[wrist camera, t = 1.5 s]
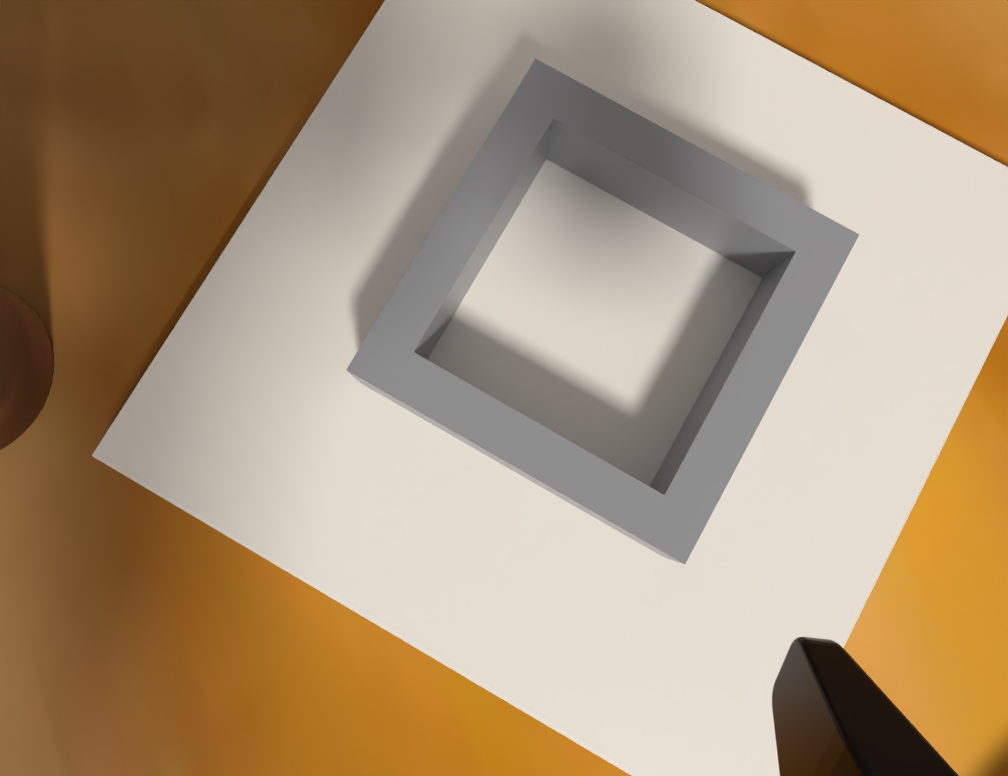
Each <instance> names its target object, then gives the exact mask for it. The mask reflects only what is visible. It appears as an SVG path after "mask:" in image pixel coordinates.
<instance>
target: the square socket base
mask: <svg viewBox="0 0 1008 776" xmlns="http://www.w3.org/2000/svg"><path fill="white" fill-rule="evenodd" d="M1007 315H1008V167H1007V166H1005V165H1003V164H1001V163H999V162H997V161H995V160H993V159H992V158H990V157H988V156H986V155H984V154H982V153H980V152H978V151H977V150H975V149H973V148H971V147H969V146H967V145H965V144H963V143H962V142H960V141H958V140H956V139H954V138H952V137H950V136H948V135H947V134H945V133H943V132H941V131H939V130H937V129H935V128H933V127H932V126H930V125H928V124H926V123H924V122H922V121H920V120H918V119H917V118H915V117H913V116H911V115H909V114H907V113H905V112H903V111H902V110H900V109H898V108H896V107H894V106H892V105H890V104H888V103H887V102H885V101H883V100H881V99H879V98H877V97H875V96H873V95H872V94H870V93H868V92H866V91H864V90H862V89H860V88H858V87H857V86H855V85H853V84H851V83H849V82H847V81H845V80H843V79H842V78H840V77H838V76H836V75H834V74H832V73H830V72H828V71H827V70H825V69H823V68H821V67H819V66H817V65H815V64H813V63H812V62H810V61H808V60H806V59H804V58H802V57H800V56H798V55H796V54H795V53H793V52H791V51H789V50H787V49H785V48H783V47H781V46H780V45H778V44H776V43H774V42H772V41H770V40H768V39H766V38H765V37H763V36H761V35H759V34H757V33H755V32H753V31H751V30H750V29H748V28H746V27H744V26H742V25H740V24H738V23H736V22H735V21H733V20H731V19H729V18H727V17H725V16H723V15H721V14H720V13H718V12H716V11H714V10H712V9H710V8H708V7H706V6H705V5H703V4H701V3H699V2H697V1H695V0H385V1H384V3H383V4H382V6H381V7H380V9H379V10H378V12H377V13H376V15H375V17H374V18H373V20H372V21H371V23H370V24H369V26H368V27H367V29H366V31H365V32H364V34H363V35H362V37H361V38H360V40H359V41H358V43H357V44H356V46H355V48H354V49H353V51H352V52H351V54H350V55H349V57H348V58H347V60H346V62H345V63H344V65H343V66H342V68H341V69H340V71H339V72H338V74H337V76H336V77H335V79H334V80H333V82H332V83H331V85H330V86H329V88H328V89H327V91H326V93H325V94H324V96H323V97H322V99H321V100H320V102H319V103H318V105H317V107H316V108H315V110H314V111H313V113H312V114H311V116H310V117H309V119H308V121H307V122H306V124H305V125H304V127H303V128H302V130H301V131H300V133H299V135H298V136H297V138H296V139H295V141H294V142H293V144H292V145H291V147H290V148H289V150H288V152H287V153H286V155H285V156H284V158H283V159H282V161H281V162H280V164H279V166H278V167H277V169H276V170H275V172H274V173H273V175H272V176H271V178H270V180H269V181H268V183H267V184H266V186H265V187H264V189H263V190H262V192H261V193H260V195H259V197H258V198H257V200H256V201H255V203H254V204H253V206H252V207H251V209H250V211H249V212H248V214H247V215H246V217H245V218H244V220H243V221H242V223H241V225H240V226H239V228H238V229H237V231H236V232H235V234H234V235H233V237H232V239H231V240H230V242H229V243H228V245H227V246H226V248H225V249H224V251H223V252H222V254H221V256H220V257H219V259H218V260H217V262H216V263H215V265H214V266H213V268H212V270H211V271H210V273H209V274H208V276H207V277H206V279H205V280H204V282H203V284H202V285H201V287H200V288H199V290H198V291H197V293H196V294H195V296H194V297H193V299H192V301H191V302H190V304H189V305H188V307H187V308H186V310H185V311H184V313H183V315H182V316H181V318H180V319H179V321H178V322H177V324H176V325H175V327H174V329H173V330H172V332H171V333H170V335H169V336H168V338H167V339H166V341H165V343H164V344H163V346H162V347H161V349H160V350H159V352H158V353H157V355H156V356H155V358H154V360H153V361H152V363H151V364H150V366H149V367H148V369H147V370H146V372H145V374H144V375H143V377H142V378H141V380H140V381H139V383H138V384H137V386H136V388H135V389H134V391H133V392H132V394H131V395H130V397H129V398H128V400H127V401H126V403H125V405H124V406H123V408H122V409H121V411H120V412H119V414H118V415H117V417H116V419H115V420H114V422H113V423H112V425H111V426H110V428H109V429H108V431H107V433H106V434H105V436H104V437H103V439H102V440H101V442H100V443H99V445H98V447H97V448H96V450H95V451H94V453H93V454H92V456H93V457H94V458H96V459H98V460H99V461H101V462H103V463H104V464H106V465H108V466H110V467H111V468H113V469H115V470H116V471H118V472H120V473H121V474H123V475H125V476H126V477H128V478H130V479H131V480H133V481H135V482H137V483H138V484H140V485H142V486H143V487H145V488H147V489H148V490H150V491H152V492H153V493H155V494H157V495H159V496H160V497H162V498H164V499H165V500H167V501H169V502H170V503H172V504H174V505H175V506H177V507H179V508H180V509H182V510H184V511H186V512H187V513H189V514H191V515H192V516H194V517H196V518H197V519H199V520H201V521H202V522H204V523H206V524H207V525H209V526H211V527H213V528H214V529H216V530H218V531H219V532H221V533H223V534H224V535H226V536H228V537H229V538H231V539H233V540H234V541H236V542H238V543H240V544H241V545H243V546H245V547H246V548H248V549H250V550H251V551H253V552H255V553H256V554H258V555H260V556H262V557H263V558H265V559H267V560H268V561H270V562H272V563H273V564H275V565H277V566H278V567H280V568H282V569H283V570H285V571H287V572H289V573H290V574H292V575H294V576H295V577H297V578H299V579H300V580H302V581H304V582H305V583H307V584H309V585H310V586H312V587H314V588H316V589H317V590H319V591H321V592H322V593H324V594H326V595H327V596H329V597H331V598H332V599H334V600H336V601H338V602H339V603H341V604H343V605H344V606H346V607H348V608H349V609H351V610H353V611H354V612H356V613H358V614H359V615H361V616H363V617H365V618H366V619H368V620H370V621H371V622H373V623H375V624H376V625H378V626H380V627H381V628H383V629H385V630H386V631H388V632H390V633H392V634H393V635H395V636H397V637H398V638H400V639H402V640H403V641H405V642H407V643H408V644H410V645H412V646H414V647H415V648H417V649H419V650H420V651H422V652H424V653H425V654H427V655H429V656H430V657H432V658H434V659H435V660H437V661H439V662H441V663H442V664H444V665H446V666H447V667H449V668H451V669H452V670H454V671H456V672H457V673H459V674H461V675H462V676H464V677H466V678H468V679H469V680H471V681H473V682H474V683H476V684H478V685H479V686H481V687H483V688H484V689H486V690H488V691H490V692H491V693H493V694H495V695H496V696H498V697H500V698H501V699H503V700H505V701H506V702H508V703H510V704H511V705H513V706H515V707H517V708H518V709H520V710H522V711H523V712H525V713H527V714H528V715H530V716H532V717H533V718H535V719H537V720H538V721H540V722H542V723H544V724H545V725H547V726H549V727H550V728H552V729H554V730H555V731H557V732H559V733H560V734H562V735H564V736H566V737H567V738H569V739H571V740H572V741H574V742H576V743H577V744H579V745H581V746H582V747H584V748H586V749H587V750H589V751H591V752H593V753H594V754H596V755H598V756H599V757H601V758H603V759H604V760H606V761H608V762H609V763H611V764H613V765H614V766H616V767H618V768H620V769H621V770H623V771H625V772H626V773H628V774H630V775H631V776H780V773H779V764H778V755H777V747H776V738H775V729H774V720H773V711H772V691H773V686H774V683H775V680H776V678H777V676H778V673H779V671H780V669H781V666H782V664H783V662H784V659H785V657H786V655H787V652H788V650H789V648H790V645H791V644H792V642H793V641H794V640H795V639H796V638H798V637H812V638H821V639H829V640H833V641H835V642H837V643H838V644H839V645H841V646H842V647H843V648H844V646H845V644H846V642H847V639H848V637H849V635H850V633H851V631H852V629H853V627H854V625H855V623H856V621H857V619H858V617H859V615H860V613H861V611H862V609H863V607H864V605H865V603H866V601H867V599H868V597H869V595H870V593H871V591H872V589H873V587H874V585H875V583H876V581H877V579H878V577H879V575H880V573H881V571H882V569H883V567H884V565H885V563H886V560H887V558H888V556H889V554H890V552H891V550H892V548H893V546H894V544H895V542H896V540H897V538H898V536H899V534H900V532H901V530H902V528H903V526H904V524H905V522H906V520H907V518H908V516H909V514H910V512H911V510H912V508H913V506H914V504H915V502H916V500H917V498H918V496H919V494H920V492H921V490H922V488H923V486H924V483H925V481H926V479H927V477H928V475H929V473H930V471H931V469H932V467H933V465H934V463H935V461H936V459H937V457H938V455H939V453H940V451H941V449H942V447H943V445H944V443H945V441H946V439H947V437H948V435H949V433H950V431H951V429H952V427H953V425H954V423H955V421H956V419H957V417H958V415H959V413H960V411H961V409H962V407H963V404H964V402H965V400H966V398H967V396H968V394H969V392H970V390H971V388H972V386H973V384H974V382H975V380H976V378H977V376H978V374H979V372H980V370H981V368H982V366H983V364H984V362H985V360H986V358H987V356H988V354H989V352H990V350H991V348H992V346H993V344H994V342H995V340H996V338H997V336H998V334H999V332H1000V330H1001V328H1002V325H1003V323H1004V321H1005V319H1006V317H1007Z"/></svg>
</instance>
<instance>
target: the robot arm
mask: <svg viewBox="0 0 1008 776" xmlns="http://www.w3.org/2000/svg"><path fill="white" fill-rule="evenodd" d="M772 711H773V720H774V729H775V738H776V747H777V755H778V764H779V773H780V776H959V775H958V774H957V773H956V772H955V771H954V770H953V769H952V768H951V767H950V765H949V764H948V763H947V762H946V761H945V760H944V759H943V758H942V757H941V756H940V754H939V753H938V752H937V751H936V750H935V749H934V748H933V747H932V746H931V745H930V743H929V742H928V741H927V740H926V739H925V738H924V737H923V736H922V735H921V733H920V732H919V731H918V730H917V729H916V728H915V727H914V726H913V725H912V724H911V722H910V721H909V720H908V719H907V718H906V717H905V716H904V715H903V714H902V712H901V711H900V710H899V709H898V708H897V707H896V706H895V705H894V704H893V703H892V701H891V700H890V699H889V698H888V697H887V696H886V695H885V694H884V693H883V691H882V690H881V689H880V688H879V687H878V686H877V685H876V684H875V683H874V682H873V680H872V679H871V678H870V677H869V676H868V675H867V674H866V673H865V672H864V670H863V669H862V668H861V667H860V666H859V665H858V664H857V663H856V662H855V661H854V659H853V658H852V657H851V656H850V655H849V654H848V653H847V652H846V651H845V649H844V648H843V647H842V646H841V645H839V644H838V643H837V642H835V641H833V640H829V639H821V638H812V637H798V638H796V639H795V640H794V641H793V642H792V644H791V645H790V648H789V650H788V652H787V655H786V657H785V659H784V662H783V664H782V666H781V669H780V671H779V673H778V676H777V678H776V680H775V683H774V686H773V691H772Z"/></svg>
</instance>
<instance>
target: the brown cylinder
mask: <svg viewBox="0 0 1008 776" xmlns="http://www.w3.org/2000/svg"><path fill="white" fill-rule="evenodd" d="M53 368H54V358H53V351H52V345H51V342H50V338H49V335H48V333H47V330H46V328H45V326H44V324H43V322H42V321H41V319H40V318H39V316H38V315H37V314H36V312H35V311H34V310H33V309H32V308H31V307H30V306H29V305H28V304H27V303H26V302H25V301H24V300H23V299H21V298H20V297H18V296H17V295H15V294H14V293H12V292H10V291H8V290H6V289H4V288H1V287H0V450H1V449H2V448H4V447H6V446H7V445H9V444H10V443H12V442H13V441H14V440H16V439H17V438H18V437H19V436H20V435H22V434H23V433H24V432H25V431H26V429H27V428H28V427H29V426H30V425H31V424H32V423H33V421H34V420H35V419H36V417H37V416H38V414H39V413H40V411H41V409H42V407H43V406H44V404H45V401H46V399H47V396H48V394H49V391H50V387H51V383H52V377H53Z"/></svg>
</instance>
